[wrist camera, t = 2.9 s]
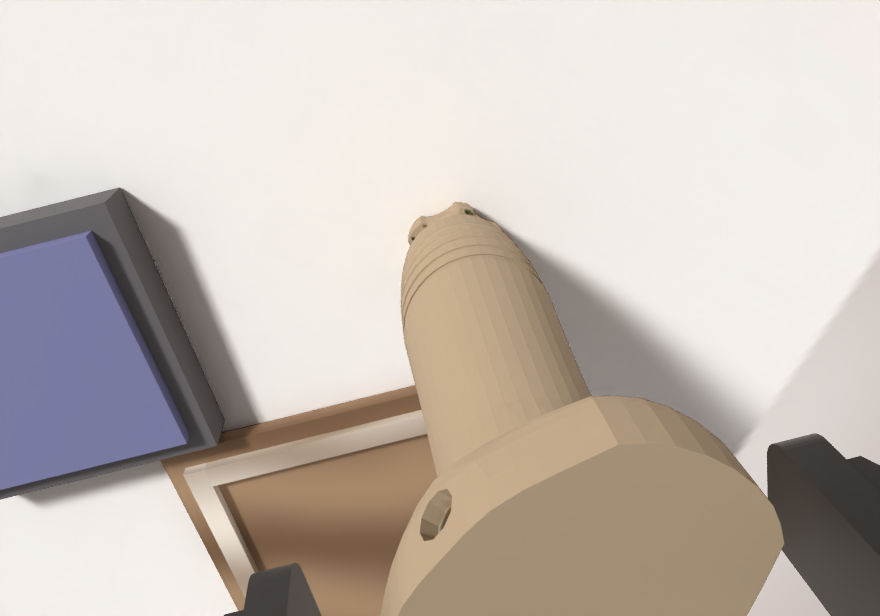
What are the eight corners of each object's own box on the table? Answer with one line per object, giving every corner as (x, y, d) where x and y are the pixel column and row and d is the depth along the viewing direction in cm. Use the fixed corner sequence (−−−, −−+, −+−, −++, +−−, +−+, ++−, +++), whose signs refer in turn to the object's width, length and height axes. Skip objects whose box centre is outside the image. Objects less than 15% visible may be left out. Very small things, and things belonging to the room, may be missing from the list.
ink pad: (-165, 258, 22) (-211, 284, 20) (119, 187, 22) (98, 207, 20) (-15, 479, 26) (-43, 518, 24) (224, 420, 26) (214, 454, 24)
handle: (566, 208, 23) (847, 540, 10) (452, 349, 25) (557, 786, 12) (451, 124, 22) (600, 384, 8) (338, 282, 24) (312, 698, 10)
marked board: (163, 447, 26) (156, 464, 25) (480, 369, 26) (484, 383, 25) (270, 656, 31) (267, 677, 30) (532, 592, 31) (537, 610, 30)
